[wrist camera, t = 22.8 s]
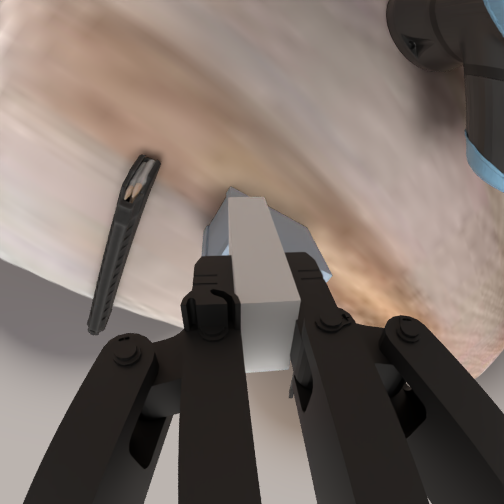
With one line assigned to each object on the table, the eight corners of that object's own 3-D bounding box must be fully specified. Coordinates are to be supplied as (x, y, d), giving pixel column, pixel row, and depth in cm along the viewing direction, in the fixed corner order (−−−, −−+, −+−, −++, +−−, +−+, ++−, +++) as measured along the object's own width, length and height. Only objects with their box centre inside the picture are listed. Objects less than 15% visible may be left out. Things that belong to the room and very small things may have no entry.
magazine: (99, 348, 47) (121, 244, 27) (83, 342, 46) (91, 232, 26) (124, 274, 58) (166, 154, 39) (110, 268, 57) (144, 146, 38)
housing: (307, 227, 48) (336, 282, 36) (278, 266, 52) (296, 327, 39) (230, 186, 44) (235, 233, 31) (203, 231, 47) (199, 290, 35)
